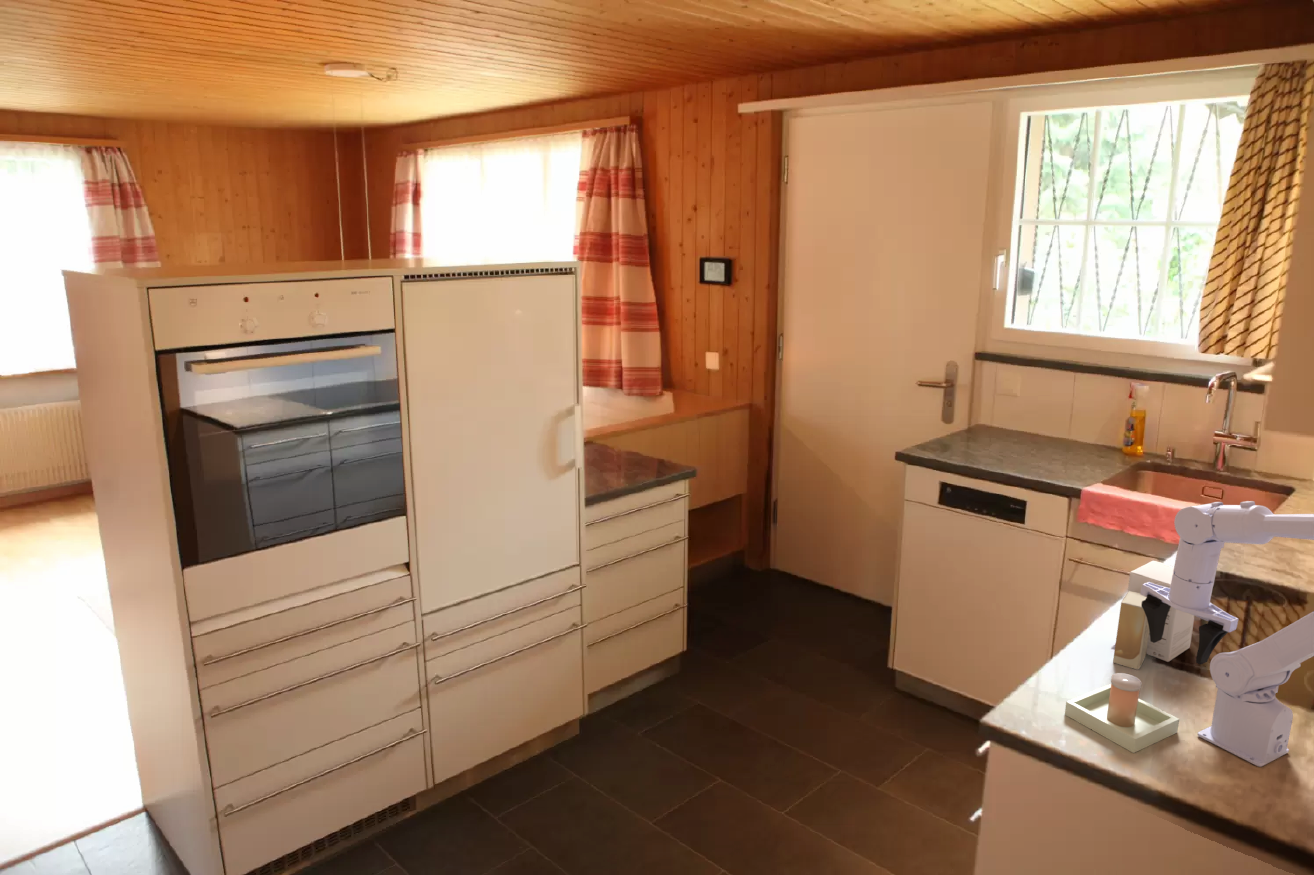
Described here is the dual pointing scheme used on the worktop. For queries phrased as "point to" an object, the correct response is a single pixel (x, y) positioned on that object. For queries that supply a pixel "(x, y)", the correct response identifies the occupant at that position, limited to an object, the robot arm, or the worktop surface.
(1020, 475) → the worktop surface
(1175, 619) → the supplement box
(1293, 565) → the worktop surface
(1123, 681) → the shaker
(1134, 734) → the tray
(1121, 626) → the skincare box
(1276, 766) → the worktop surface
